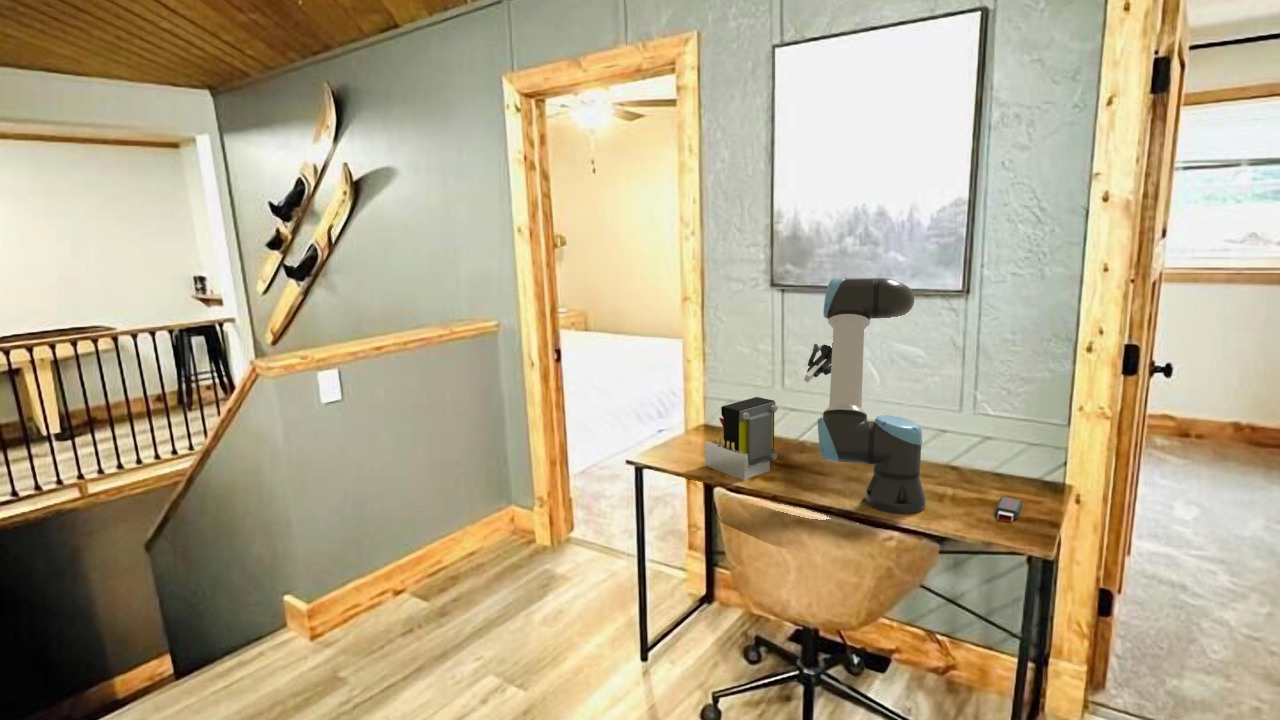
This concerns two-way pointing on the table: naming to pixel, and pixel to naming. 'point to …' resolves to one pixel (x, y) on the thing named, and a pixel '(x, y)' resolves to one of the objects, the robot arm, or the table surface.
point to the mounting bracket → (732, 461)
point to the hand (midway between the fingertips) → (806, 378)
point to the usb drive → (1008, 509)
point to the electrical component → (751, 428)
